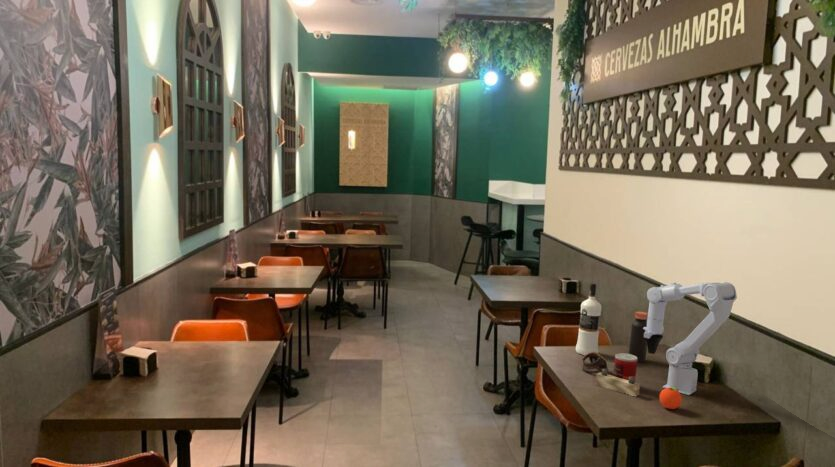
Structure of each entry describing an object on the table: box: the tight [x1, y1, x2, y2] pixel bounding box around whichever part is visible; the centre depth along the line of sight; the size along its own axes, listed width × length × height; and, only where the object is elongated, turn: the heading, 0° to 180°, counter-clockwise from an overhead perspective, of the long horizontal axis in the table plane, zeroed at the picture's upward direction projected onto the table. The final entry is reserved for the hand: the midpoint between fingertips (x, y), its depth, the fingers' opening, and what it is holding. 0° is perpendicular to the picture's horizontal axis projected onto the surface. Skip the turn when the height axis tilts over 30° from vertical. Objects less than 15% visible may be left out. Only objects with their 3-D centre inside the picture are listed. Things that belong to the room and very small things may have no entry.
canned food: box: [612, 352, 638, 381], centre depth 226 cm, size 8×8×11 cm
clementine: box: [658, 387, 683, 410], centre depth 208 cm, size 8×7×7 cm
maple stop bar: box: [594, 369, 641, 398], centre depth 222 cm, size 15×3×6 cm, turn 48°
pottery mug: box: [581, 352, 609, 371], centre depth 242 cm, size 12×10×8 cm
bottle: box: [628, 311, 648, 363], centre depth 257 cm, size 7×7×20 cm
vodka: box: [575, 282, 602, 356], centre depth 262 cm, size 9×9×30 cm
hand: (651, 353), depth 237 cm, fingers closed
